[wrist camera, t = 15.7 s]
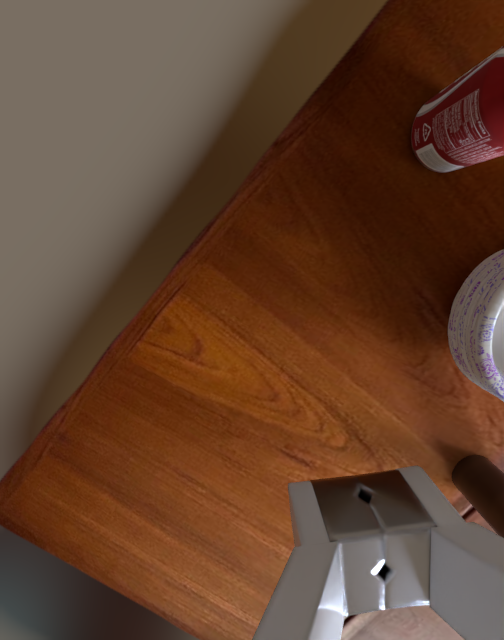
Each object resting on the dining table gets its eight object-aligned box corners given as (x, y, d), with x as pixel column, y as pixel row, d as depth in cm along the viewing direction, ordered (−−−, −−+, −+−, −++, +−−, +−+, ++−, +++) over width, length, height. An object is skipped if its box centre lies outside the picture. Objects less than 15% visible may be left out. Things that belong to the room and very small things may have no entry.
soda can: (438, 189, 33) (545, 163, 22) (392, 137, 32) (479, 80, 20) (491, 133, 32) (634, 75, 21) (446, 77, 31) (571, -18, 19)
